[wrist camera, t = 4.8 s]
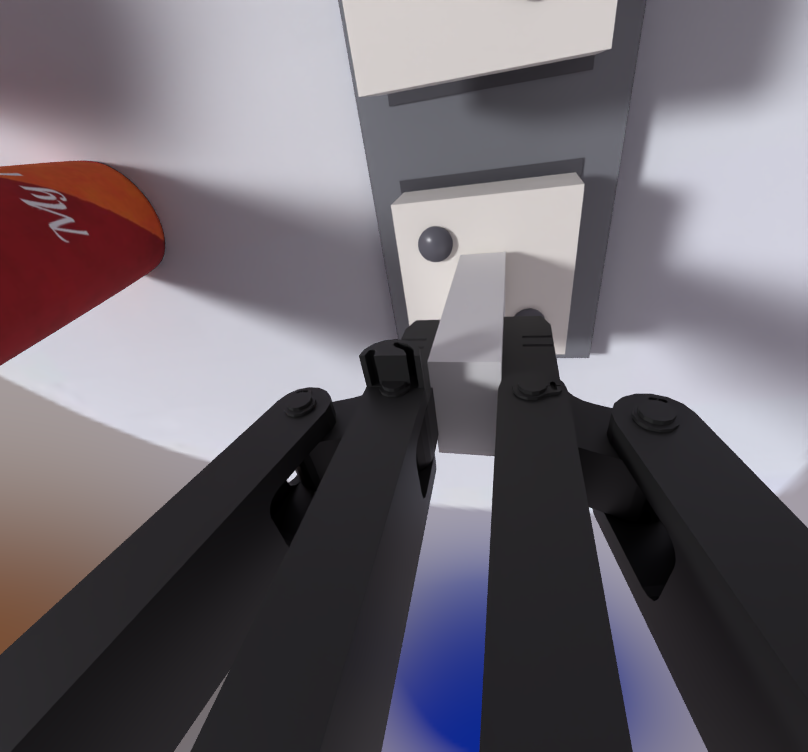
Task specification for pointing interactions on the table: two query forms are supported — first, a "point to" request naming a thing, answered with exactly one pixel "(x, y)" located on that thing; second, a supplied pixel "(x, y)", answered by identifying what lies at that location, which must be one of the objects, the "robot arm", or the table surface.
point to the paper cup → (68, 245)
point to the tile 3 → (493, 243)
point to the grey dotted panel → (510, 147)
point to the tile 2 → (467, 38)
